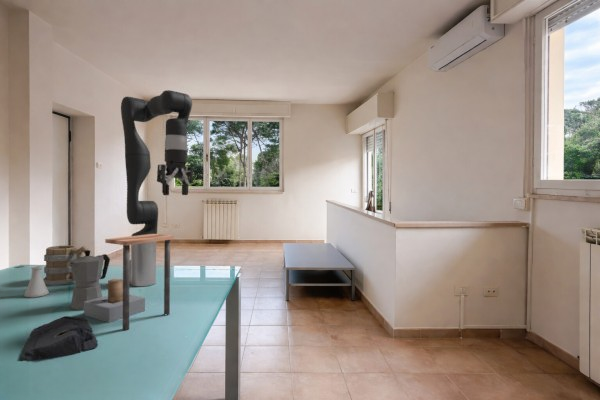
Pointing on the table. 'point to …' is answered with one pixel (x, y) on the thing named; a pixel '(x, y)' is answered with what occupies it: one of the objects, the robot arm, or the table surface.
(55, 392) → the table surface
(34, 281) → the flask
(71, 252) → the tankard
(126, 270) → the small wooden table
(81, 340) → the dark slate chunk
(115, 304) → the socket
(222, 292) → the table surface
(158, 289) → the table surface
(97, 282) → the coffeepot
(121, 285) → the peg
